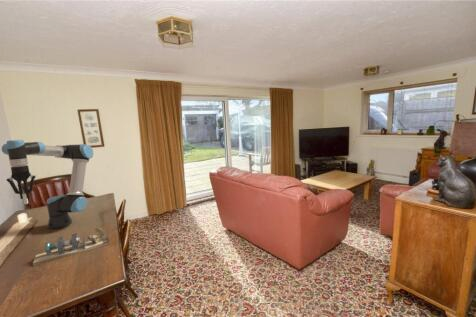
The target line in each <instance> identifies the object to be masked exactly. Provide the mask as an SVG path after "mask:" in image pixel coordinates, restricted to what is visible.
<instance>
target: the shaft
mask: <svg viewBox="0 0 476 317" xmlns="http://www.w3.org/2000/svg"><path fill="white" fill-rule="evenodd" d="M77 243H78V244H80V243H81V237H80V236H77ZM63 246H65V247H68V246H72V243H71V238H70V239H67V240H64V241H63ZM44 249H45V253H47V254H49V253H51V251H53V250H57V249H58V246H57V242H55V243H52V242H51V241H47V242H45V248H44Z"/></svg>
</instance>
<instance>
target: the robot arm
mask: <svg viewBox="0 0 476 317" xmlns="http://www.w3.org/2000/svg"><path fill="white" fill-rule="evenodd" d="M1 152H2V154H4V155H7V156H8V159H9V160H8V161H9V165H10V172H11V175H10V177H8V178H7V179H6V181H7V183H8V184H10V185H9V186H10V187H11V188H12V190H13V192H14V193H15V194H19V197H20V200H22V201H23V205H28V204H29V199H30V193H31V192H32V191H34V190H33V189H34V185H35V184H34V182H35V179H36V177H37V175H36V174H32V173H31V172H30V168H29V165H28V164H29V163H28V157H27V156H39V157H41V156H42V157H54V158H58V159H60V158H61V159H68V160H71V161H72V169H71V174H70V175H71V176H70V184H69V188H68V193H66V194H60V195H55V196H52V197H50V198H47V200H46V208H47V214H48V222H47V229H48V230H57V229H61V228H64V227H67V226H69V225H71V224H72V223H73V218H72V217H71V216H70V214H69V213H81V212H83V211H84V210H85V209H86V207H87V205H88V200H87V198H86V197H85V194H84V192H83V190H84V183H85V176H86V170H87V169H86V168H87V163H89V162H90V159H91V158H93V157H94V150H93V148H92V146H91V145H89V144H86V143H85V144H83V143H80V144H65V145H63V144H62V145H54V146H53V145H45V144H44V143H43V142H41V141H33V142H32V141H31V142H30V141H29V142H28V141H27V142H25V141H24V140H23V139H14V140H11V139H10V140H7V141H6V143H4V144H3V145H1ZM29 179H30V183H29V185H28V180H29ZM14 181H16V183H17V185H16V184H15V182H14ZM22 182H23V184H22ZM17 187H18V188H17Z"/></svg>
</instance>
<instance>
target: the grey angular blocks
mask: <svg viewBox="0 0 476 317" xmlns="http://www.w3.org/2000/svg"><path fill="white" fill-rule="evenodd" d="M105 233H106V236H107V240H108V242H109V243H110V239H109V233H108V231H106V232H105ZM77 238H78V233H72V234H71V237H70V239H71V243H72V245H71V246H72V249H73V251H75V250H78V244H79V243H77ZM63 241H65V238H64V236H59V237H58V238H57V241H56V243H57V246H58V248H57V249H58V252H59V255H60V254H64V253H65V247H66V246H63ZM85 242H86V239H85V237H82V243H83V249H85Z"/></svg>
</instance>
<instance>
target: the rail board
mask: <svg viewBox="0 0 476 317" xmlns="http://www.w3.org/2000/svg"><path fill="white" fill-rule="evenodd" d="M108 244H109V245H110V241H109V242H108V240H107V235H106V236H103V240H101V241H99V242H98V243H95V242H92V241H90V240H88V241H85V249H83V242H80V243H78V250H75V251H73V249H72V245H68V246H65V253H64V254H60V255H59V252H58V248H57V249H53V250H51V253H49V254H47V253H46V252H42V253H39V254H35V257H34V260H33V261H32V266H38V265H42V264H45V263H48V262H52V261H55V260H59V259H62V258H66V257H69V256H74V255H76V254H80V253H84V252H87V251H91V250H95V249H98V248H100V247H102V248H103V247H105V246H108Z"/></svg>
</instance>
